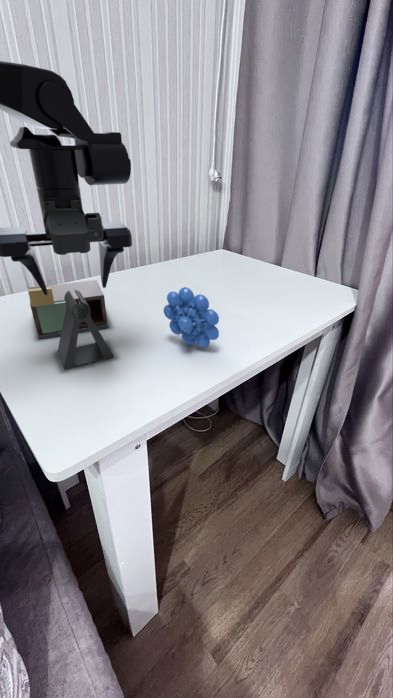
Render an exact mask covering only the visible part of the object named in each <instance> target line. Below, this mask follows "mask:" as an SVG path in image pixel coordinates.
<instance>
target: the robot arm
mask: <svg viewBox="0 0 393 698" xmlns="http://www.w3.org/2000/svg"><path fill="white" fill-rule="evenodd" d="M0 110H1V111H2V112H3V113H6V114H7V115H10V116H11V117H13V118H16V119H17V120H19V121H21V122H23V123H25V124H27V125H29V126H32V127H33V128H36V129H43V130H48V131H50V132H51V133H52V134H42V133H41V134H40V133H33V131H31V130H30V129H29V128H28V127H27V126H19V128H18V132H17V133H16V135H15V136H14V137H13V138H12V140H11V141H9V145H10V147H11V148H14V149H19V150H28V152H29V157H30V160H31V168H32V172H33V177H34V181H35V187H36V191H37V192H36V193H37V198H38V201H39V207H40V211H41V217H42V223H43V227H44V228H43V229H44V231H42V232H41V231H39V232H38V231H37V232H28V231H27V228H26V226H9V227H0V257H2V258H10V259H11V262H16V263H17V262H19V263H21V264H22V265H23V266H24V267H25V268H26V269H27V270H28V272H29V273H30V274H31V275H32V277H33V279H34V280H35V282H36V283H37V285H38V286H40V288H41V289H42V291H43V293H44V294H45V295H48V294H47V289H46V286H47V284H46V280H45V278H44V276H43V273H42V270H41V268H40V264H39V261H38V258H37V256H36V254H35V253H36V252H35V250H34V248H33V247H43V246H52V250H53V252H54V254H56V255H59V256H67V254H74V253H75V254H76V253H80V254H86V253H89V252H90V251H91V243H98V244H99V247H98V248H99V267H100V269H99V270H100V271H99V272H100V281H101V286H102V288H103V289H106V288H107V286H108V285H107V284H108V280H109V277H110V272H111V268H112V266H113V262H114V260H115V258H116V257H117V256H118V254H120V253H121V254H122V253H124V251H125V248H131V247H132V246H133V238H132V237H133V236H132V231H131V230H130V229H129V228H128V227H127V226H126V225H125V224H124V223H123V222H121V221H105V222H103V221H102V216H101V213H100V212H86V213H85V211H84V207H83V202H82V200H83V199H82V194H81V187H80V179H79V178H81V179H84V181H85V183H86V184H87V185H88V186H106V185H123V184H127V183H128V182H129V180H130V177H131V172H132V161H131V158H130V157H129V153H128V149H127V148H126V146H125V144H124V143H123V140H122V139H123V137H122V133H121V132H118V131H117V132H116V131H115V132H114V131H106V132H94V131H93V129H92V128H91V126H90V125H89V124H88V122H87V120H86V118H85V117H84V116H83V115H82V113H81V112H80V110H79V109H78V107H77V105H76V104H75V100H74V96H73V92H72V91H71V89H70V87H69V85H68V83H67V81H66V80H65V79H64V78H63V77H62V76H61V75H59V74H58V73H57V72H55V71H53V70H50V69H46V68H41V67H36V66H32V65H27V64H23V63H15V62H10V61H1V60H0ZM59 138H63V139H72V140H74V144H70V143H69V144H65V143H64V144H63V143H62V141H61V140H60V139H59Z"/></svg>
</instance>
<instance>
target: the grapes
mask: <svg viewBox="0 0 393 698" xmlns="http://www.w3.org/2000/svg"><path fill="white" fill-rule="evenodd" d="M166 300H167V304H166V305H165V306H164V307H163V311H162V312H163V314H164V316H165V318H167V319H168V320H170V322H169V329H170V331H171V333H173V334H174V335H177V336H179V335H181V339H182V342H183V343H184V344H185V345H187V346H194V345H195V344H197V346H199V347H200V348H208V347H209V346H210V344H211V341H216V340H217V339H218V338H219V337H220V331H219V329H218V327H217V326H216V325H218V324H219V322H220V317H219V314H218V313H217V311H215V310H214V309H211V308H210V302H209V299H208V298H207V296H205V295H204V294H201V293H200V294H196V295H195V294H194V292H193V290H191V288H189V287H186V286H184V287H181V288H180V289H179V290H178V292H177V291H170V292H168V294H167V295H166Z"/></svg>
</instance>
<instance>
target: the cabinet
mask: <svg viewBox="0 0 393 698" xmlns="http://www.w3.org/2000/svg"><path fill="white" fill-rule="evenodd" d="M46 287H51V289H52V294H53V298H54V303H55V302H63V301H65V299H64V297H65V294H66V292H68V291H70V293H71V294H72V296H73V298H74V300H75V301H76V303H77V304H78V302H79V301H80V299H79V298H78V296H77V294H76V293H75V290H78V291H79V292H80V293H81V294H82V296H83V298H84V299H85V301H86V302H87V304H88V305H89V307H90V310H91V311H90V314H91V319H92V320H93V322H94V324H95V325H96V327H97V329H98V330H105V329H110V325H109V322H108V316H107V309H106V308H107V307H106V299H105V294H104V291H103V290H102V289H101V286H100V284H99V283H98V280H97V279H93V280H92V279H91V280H84V281H75V282H66V283H58V284H48V285H47V284H46ZM37 288H40V286H39V285H38V286H30V287H28V289H37ZM29 306H30V309H31V314H32V317H33V321H34V325H35V326H34V327H35V330H36V334H37V339H38V340H44V339H50V338H56V337H60V336H61V332H62V331H58V332H52V333H46V334H43V332H42V328H41V324H40V320H39V316H38V312H37V308H36V307H32V305H31V301H30V300H29ZM86 332H90V330H89V328H88V326H87V324H86V322H82V323H80V325H79V330H78V334H80V333H86Z"/></svg>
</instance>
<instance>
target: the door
mask: <svg viewBox="0 0 393 698" xmlns="http://www.w3.org/2000/svg"><path fill="white" fill-rule="evenodd" d="M46 289H47V294H48V295H45V294H44V293H43V291H42V289H41V288H37V289H29V288H28V289H27V292H28V296H29V297H28V298H29V302H30V301H31V305H32V307H36V308H37V312H38V316H39V320H40V324H41V328H42V332H43V334H46V333H52V332H58V331H62V327H63V322H64V317H65V312H66V302H65V301H63V302H55V303H54V298H53V294H52V289H51V287H46Z"/></svg>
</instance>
